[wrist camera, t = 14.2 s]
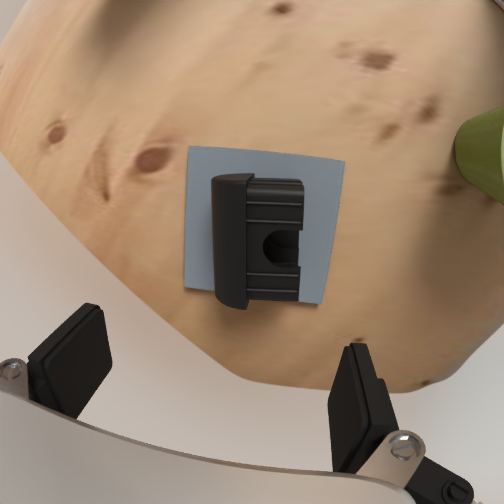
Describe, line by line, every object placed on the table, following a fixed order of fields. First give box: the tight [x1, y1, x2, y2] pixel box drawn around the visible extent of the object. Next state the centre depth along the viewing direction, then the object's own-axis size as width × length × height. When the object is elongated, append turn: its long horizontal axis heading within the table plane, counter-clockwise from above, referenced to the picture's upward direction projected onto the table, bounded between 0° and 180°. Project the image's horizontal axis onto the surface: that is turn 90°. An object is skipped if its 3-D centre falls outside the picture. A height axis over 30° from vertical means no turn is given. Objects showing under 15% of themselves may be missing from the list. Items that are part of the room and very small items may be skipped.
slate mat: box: [184, 146, 345, 304], centre depth 30 cm, size 14×14×1 cm
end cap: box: [211, 173, 305, 310], centre depth 26 cm, size 10×7×7 cm
